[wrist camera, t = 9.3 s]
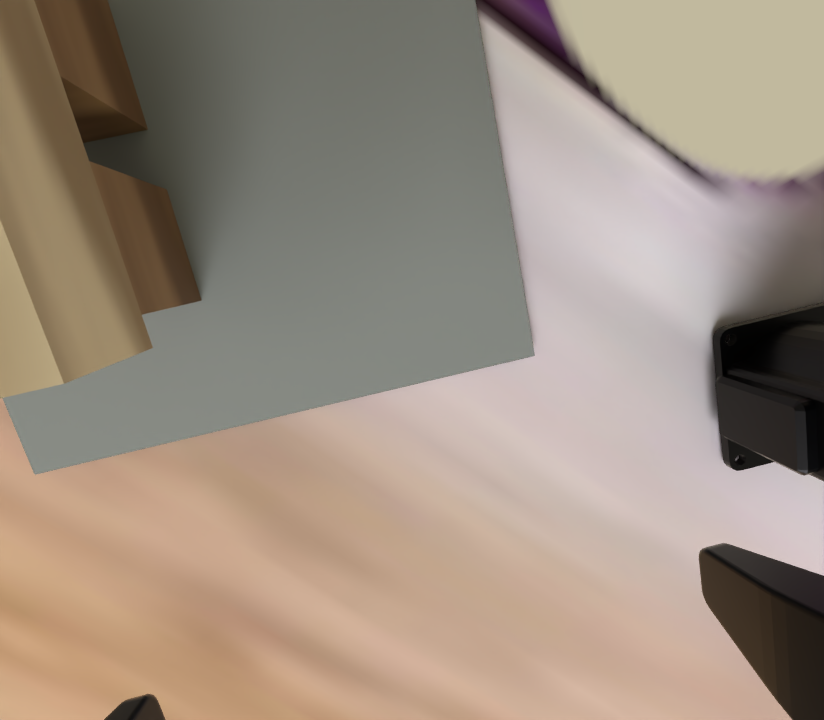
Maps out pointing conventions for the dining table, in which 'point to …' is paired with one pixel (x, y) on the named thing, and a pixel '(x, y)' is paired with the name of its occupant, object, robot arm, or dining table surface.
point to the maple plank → (53, 229)
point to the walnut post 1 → (92, 67)
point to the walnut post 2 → (147, 240)
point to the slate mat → (301, 218)
